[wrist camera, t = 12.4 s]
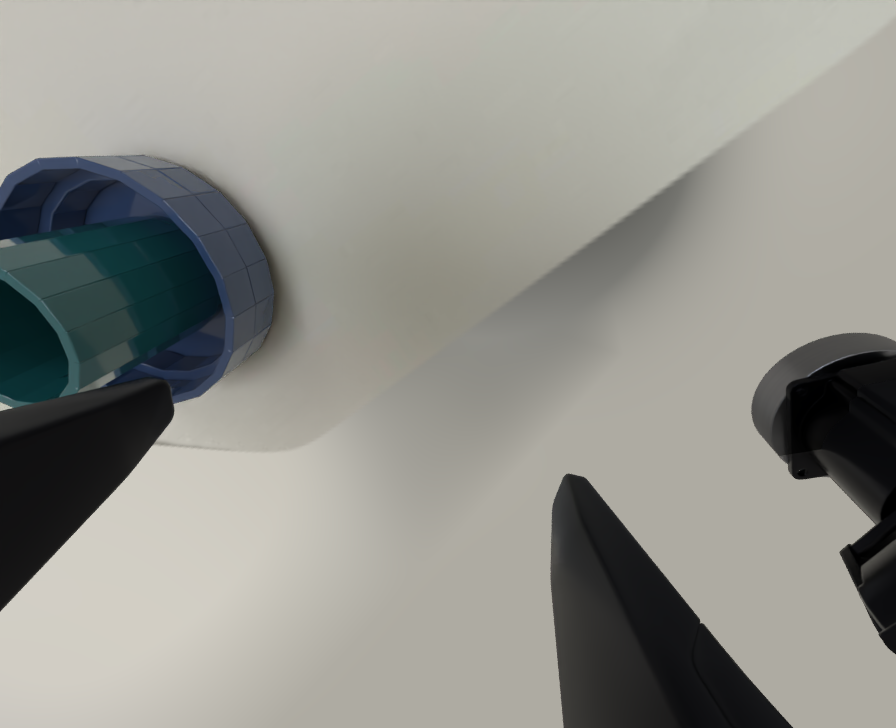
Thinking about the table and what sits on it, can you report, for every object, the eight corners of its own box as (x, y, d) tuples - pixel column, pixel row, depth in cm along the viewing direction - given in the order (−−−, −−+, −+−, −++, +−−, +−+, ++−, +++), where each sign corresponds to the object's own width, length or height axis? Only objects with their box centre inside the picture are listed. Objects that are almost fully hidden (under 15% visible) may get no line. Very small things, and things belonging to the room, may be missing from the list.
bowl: (316, 337, 22) (278, 373, 18) (163, 384, 25) (105, 424, 21) (200, 116, 18) (123, 108, 14) (33, 203, 21) (-65, 215, 17)
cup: (246, 310, 21) (113, 391, 14) (162, 339, 23) (4, 426, 16) (181, 197, 19) (-17, 226, 12) (93, 237, 20) (-128, 285, 13)
